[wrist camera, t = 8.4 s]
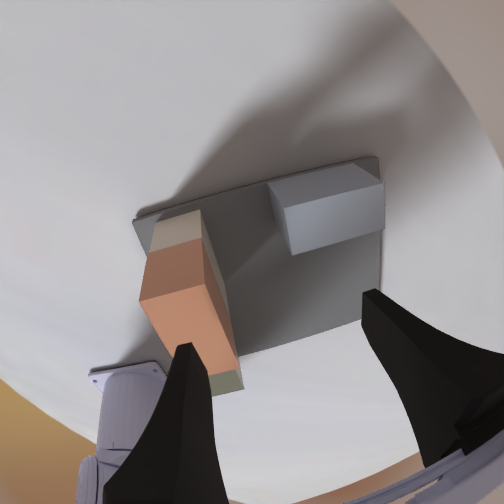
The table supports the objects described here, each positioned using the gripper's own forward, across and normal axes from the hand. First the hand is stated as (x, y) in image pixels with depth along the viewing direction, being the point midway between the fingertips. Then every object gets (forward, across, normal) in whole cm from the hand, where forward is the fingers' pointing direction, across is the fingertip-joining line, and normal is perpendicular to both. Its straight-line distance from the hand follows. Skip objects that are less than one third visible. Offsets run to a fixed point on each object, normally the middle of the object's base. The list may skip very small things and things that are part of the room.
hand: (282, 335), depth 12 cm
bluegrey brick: (+10, -5, -1) cm, 11 cm away
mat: (+10, -2, +5) cm, 12 cm away
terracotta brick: (+6, +4, +1) cm, 7 cm away
